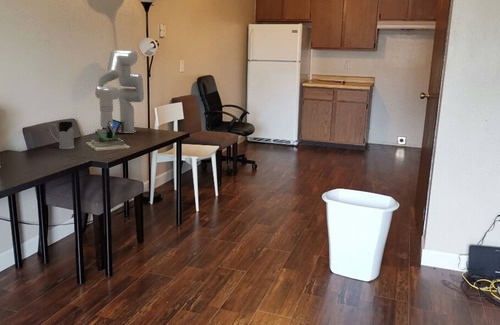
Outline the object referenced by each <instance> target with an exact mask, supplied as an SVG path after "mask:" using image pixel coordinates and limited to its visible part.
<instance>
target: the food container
mask: <svg viewBox="0 0 500 325" xmlns="http://www.w3.org/2000/svg"><path fill="white" fill-rule="evenodd" d="M112 130H113V138H107V132H108V131H107V129H102V128H97V129H96V131H97V133H98V134H97V133H96V134H97V136H98V139H99V143H101V142H114V141H115V138H116V135H115V132H116V129H115V127H113V129H112ZM116 133H117V132H116Z"/></svg>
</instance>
